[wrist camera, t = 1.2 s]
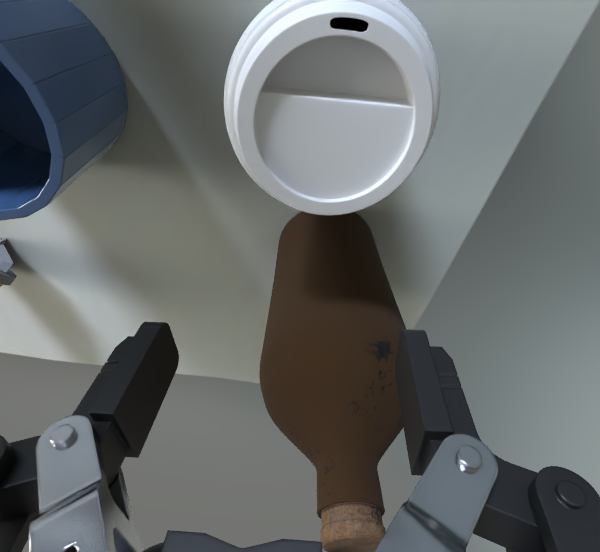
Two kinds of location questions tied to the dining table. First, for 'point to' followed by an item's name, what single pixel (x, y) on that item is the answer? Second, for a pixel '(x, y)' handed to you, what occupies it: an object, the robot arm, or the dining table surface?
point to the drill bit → (5, 265)
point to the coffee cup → (332, 101)
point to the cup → (53, 101)
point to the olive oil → (335, 368)
